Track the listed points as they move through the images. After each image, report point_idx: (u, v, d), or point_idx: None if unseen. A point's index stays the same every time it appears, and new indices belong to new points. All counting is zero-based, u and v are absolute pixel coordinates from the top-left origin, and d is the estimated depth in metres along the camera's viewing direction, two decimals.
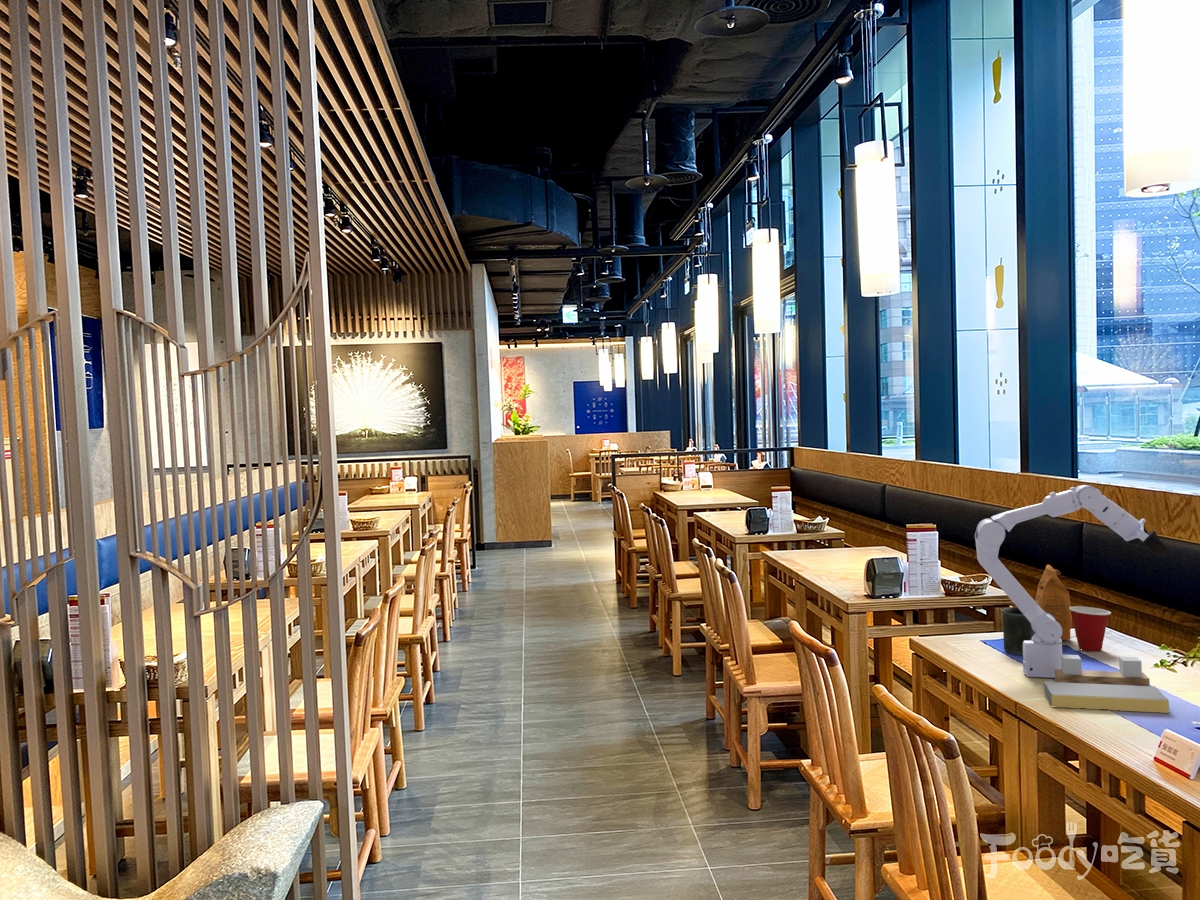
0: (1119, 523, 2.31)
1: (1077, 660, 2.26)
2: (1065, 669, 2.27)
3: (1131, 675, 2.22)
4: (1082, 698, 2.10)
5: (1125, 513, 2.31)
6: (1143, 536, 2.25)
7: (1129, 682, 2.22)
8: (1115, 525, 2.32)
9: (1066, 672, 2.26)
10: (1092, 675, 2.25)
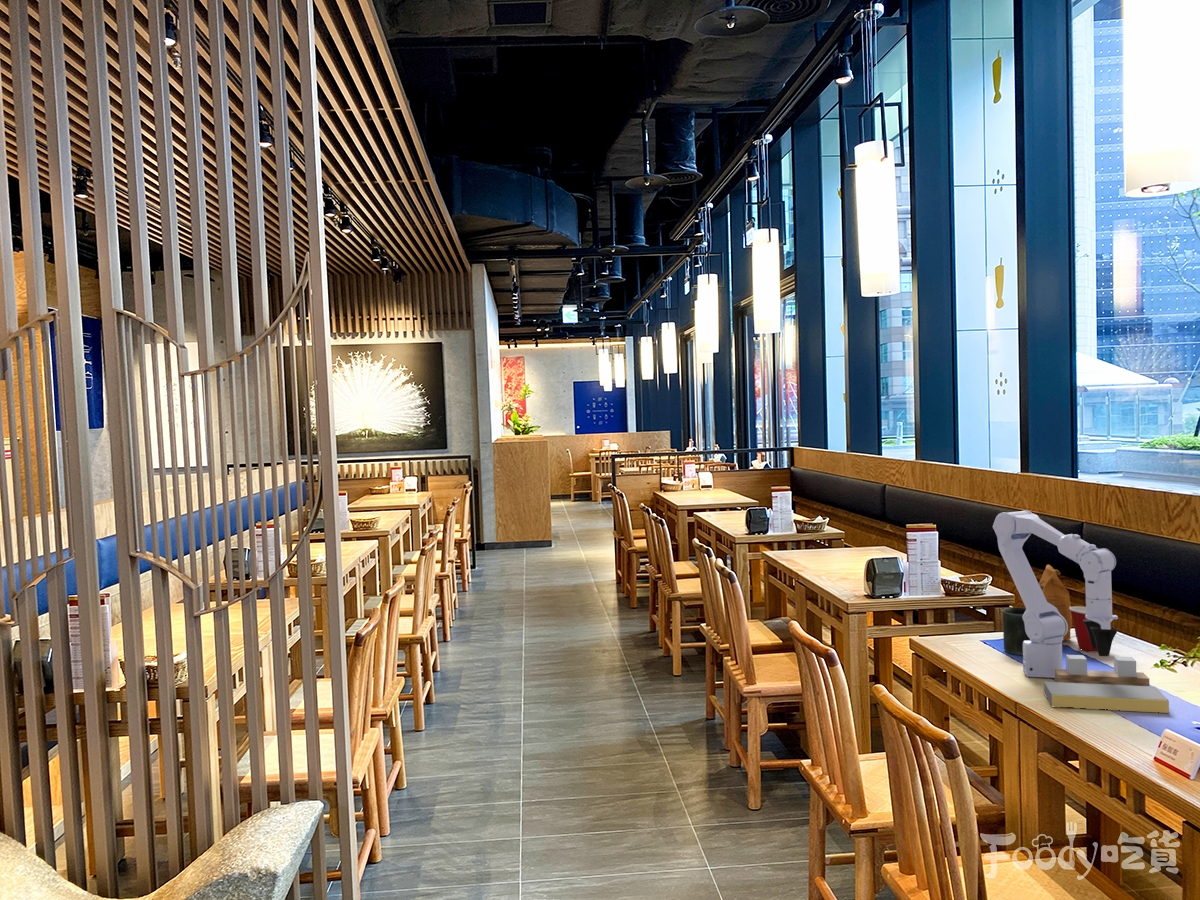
0: (1098, 601, 2.23)
1: (1082, 660, 2.25)
2: (1070, 669, 2.26)
3: (1126, 675, 2.22)
4: (1082, 698, 2.10)
5: (1110, 599, 2.23)
6: (1105, 626, 2.19)
7: (1129, 682, 2.22)
8: (1093, 600, 2.24)
9: (1072, 672, 2.26)
10: (1092, 675, 2.25)
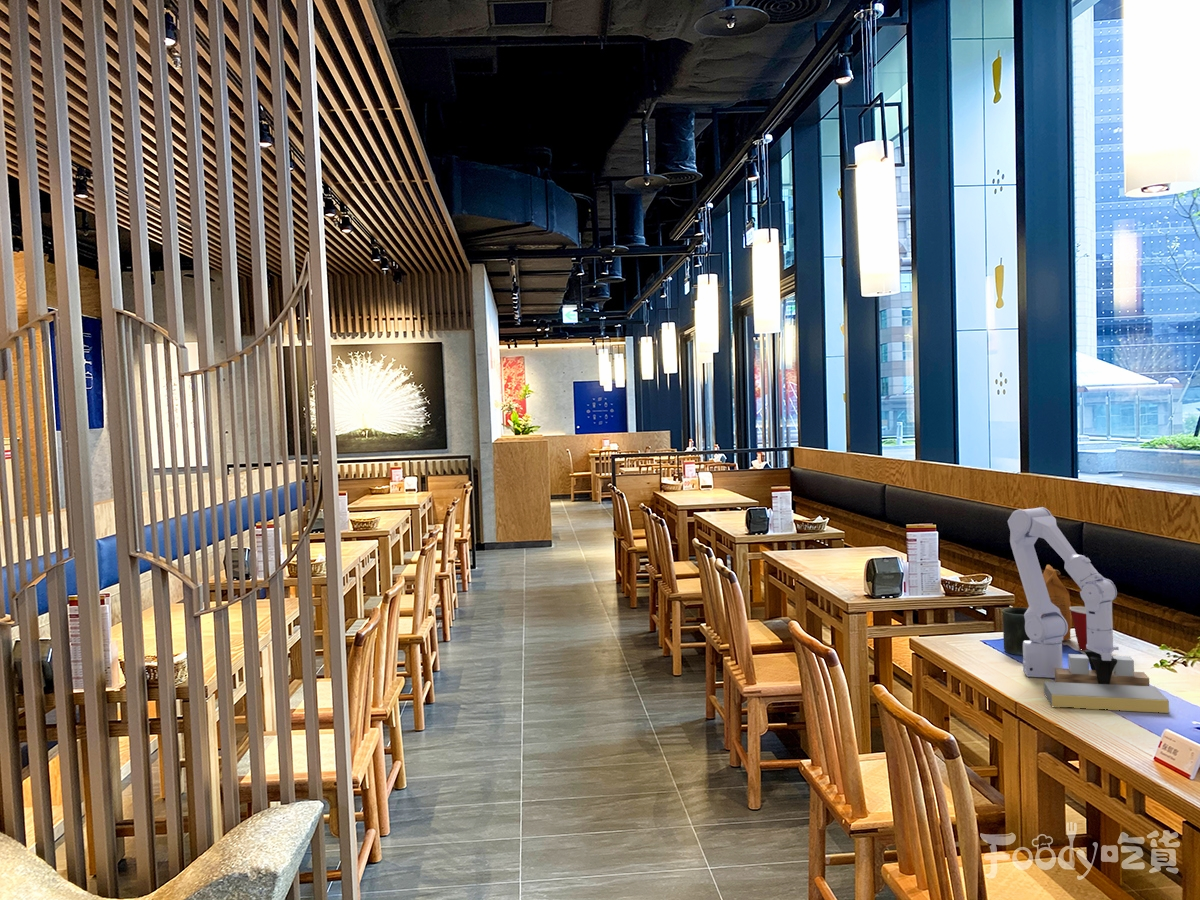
0: (1098, 632, 2.23)
1: (1084, 660, 2.25)
2: (1072, 669, 2.26)
3: (1123, 674, 2.23)
4: (1082, 698, 2.10)
5: (1111, 630, 2.23)
6: (1106, 657, 2.19)
7: (1129, 681, 2.21)
8: (1094, 630, 2.24)
9: (1073, 672, 2.26)
10: (1092, 674, 2.25)
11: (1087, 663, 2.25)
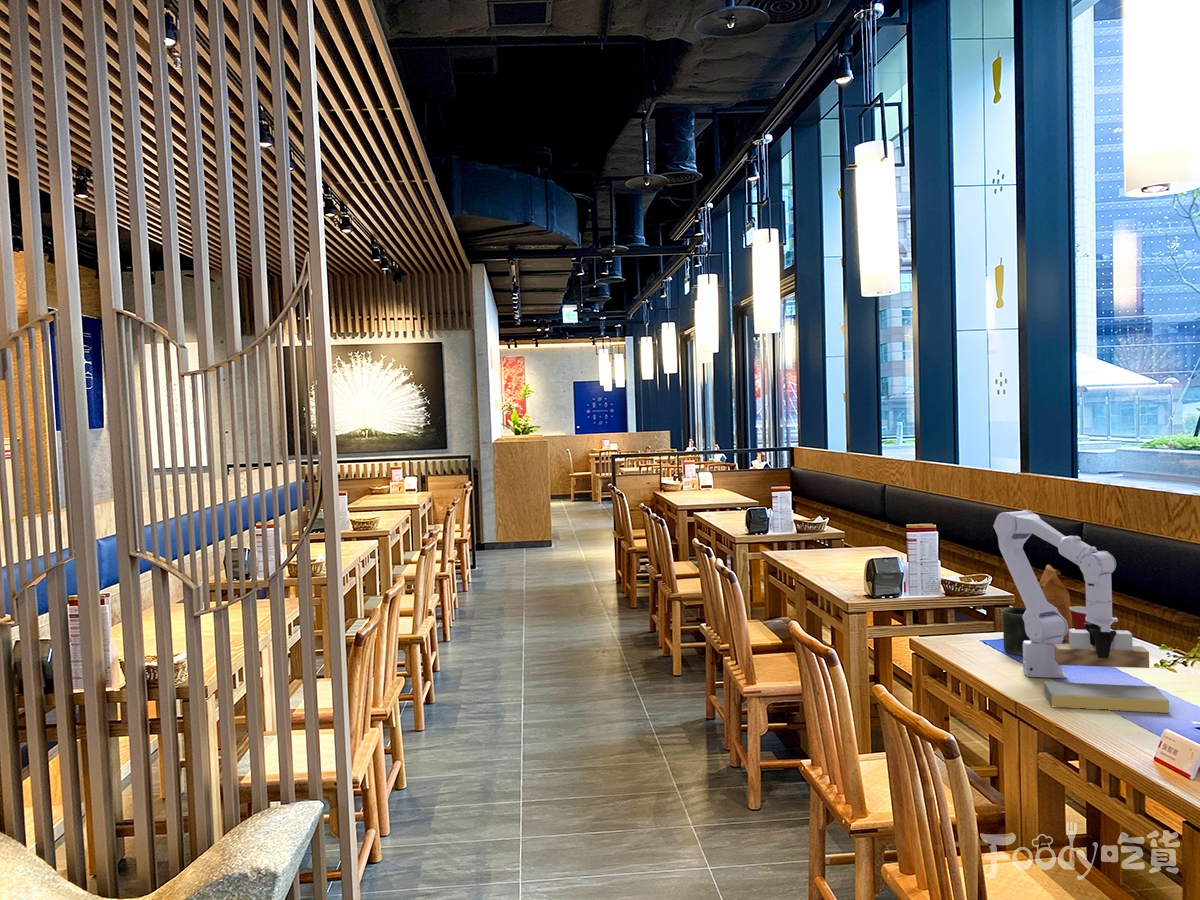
0: (1098, 604, 2.23)
1: (1085, 634, 2.25)
2: (1073, 644, 2.26)
3: (1122, 648, 2.23)
4: (1082, 698, 2.10)
5: (1110, 602, 2.23)
6: (1105, 628, 2.19)
7: (1128, 655, 2.21)
8: (1093, 602, 2.24)
9: (1075, 647, 2.26)
10: (1091, 649, 2.25)
11: (1088, 638, 2.25)
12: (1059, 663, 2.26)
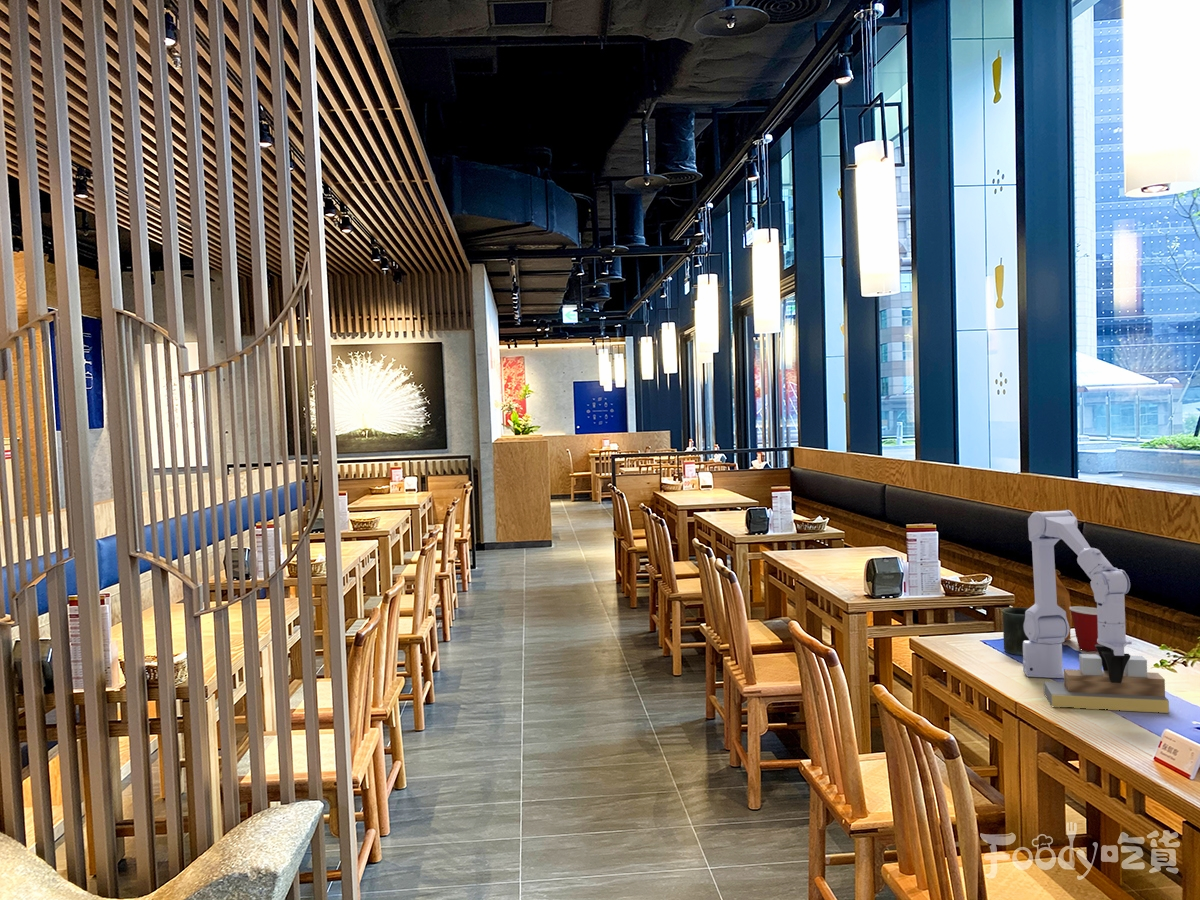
0: (1110, 625, 2.11)
1: (1097, 660, 2.13)
2: (1084, 669, 2.14)
3: (1136, 675, 2.10)
4: (1082, 698, 2.10)
5: (1123, 623, 2.11)
6: (1119, 652, 2.06)
7: (1143, 683, 2.09)
8: (1105, 624, 2.12)
9: (1085, 673, 2.13)
10: (1104, 675, 2.12)
11: (1100, 663, 2.13)
12: (1069, 690, 2.14)
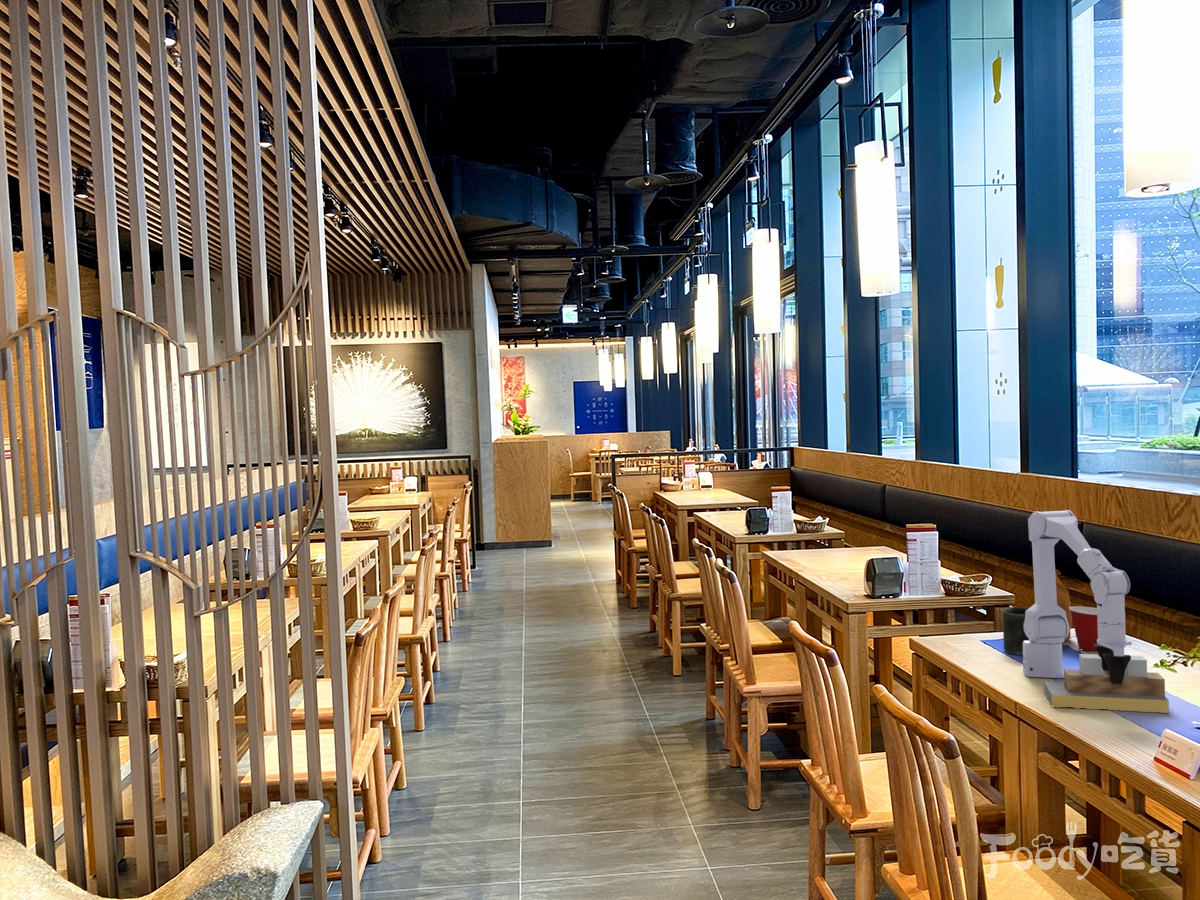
0: (1110, 626, 2.11)
1: (1097, 660, 2.13)
2: (1084, 669, 2.14)
3: (1136, 675, 2.10)
4: (1082, 698, 2.10)
5: (1123, 624, 2.11)
6: (1119, 652, 2.06)
7: (1143, 683, 2.09)
8: (1105, 624, 2.12)
9: (1085, 673, 2.13)
10: (1104, 675, 2.12)
11: (1100, 663, 2.13)
12: (1069, 690, 2.14)
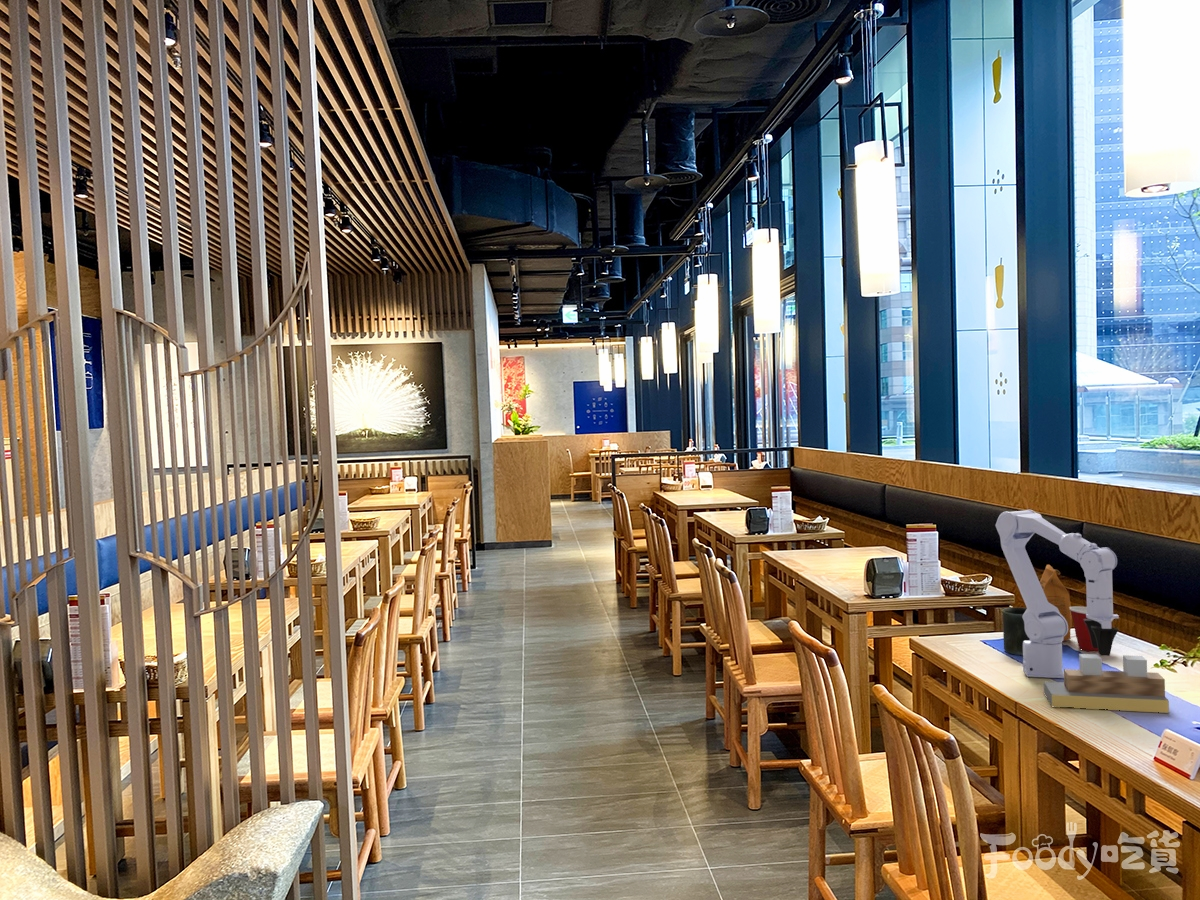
0: (1098, 601, 2.22)
1: (1097, 660, 2.13)
2: (1084, 669, 2.14)
3: (1136, 675, 2.10)
4: (1082, 698, 2.10)
5: (1111, 599, 2.22)
6: (1106, 625, 2.18)
7: (1143, 683, 2.09)
8: (1094, 599, 2.23)
9: (1085, 673, 2.13)
10: (1104, 675, 2.12)
11: (1100, 663, 2.13)
12: (1069, 690, 2.14)
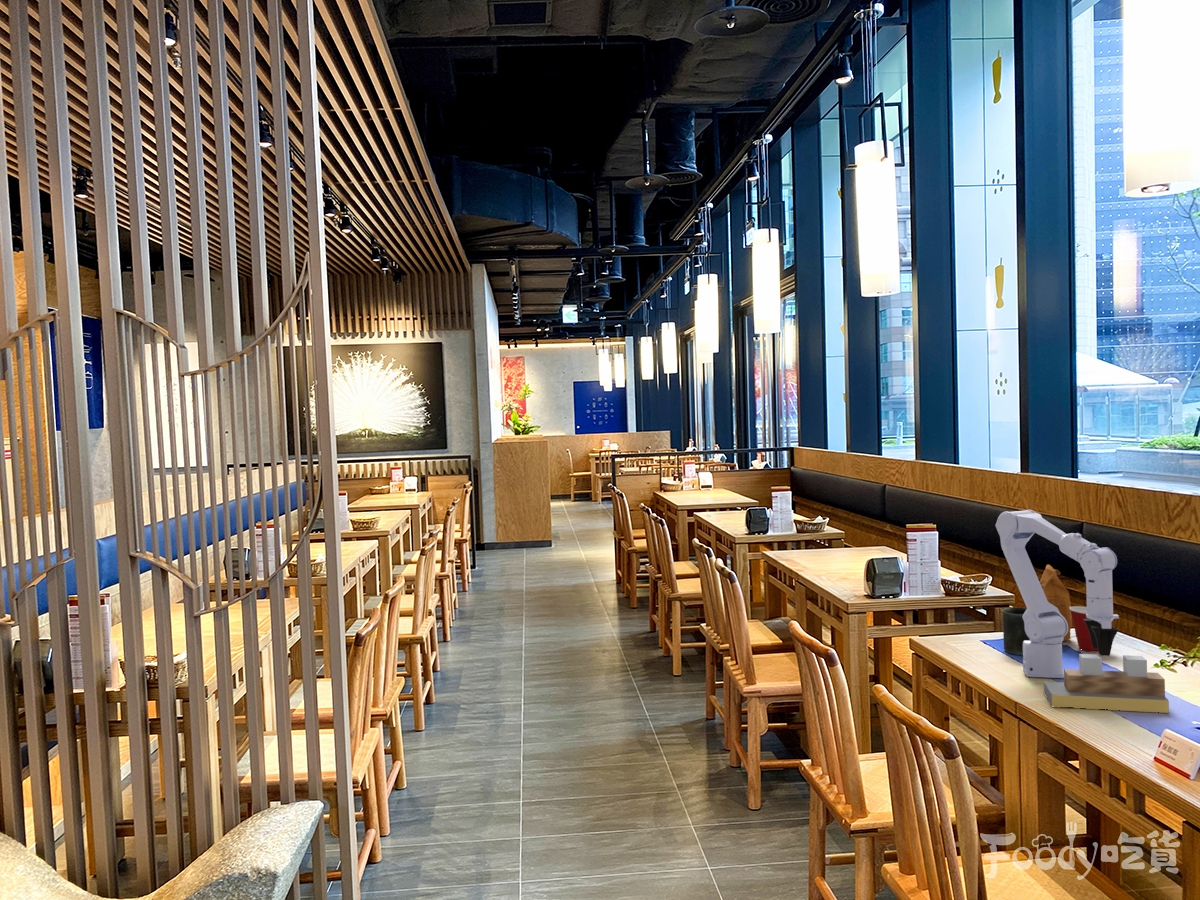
0: (1098, 601, 2.22)
1: (1097, 660, 2.13)
2: (1084, 669, 2.14)
3: (1136, 675, 2.10)
4: (1082, 698, 2.10)
5: (1111, 599, 2.22)
6: (1106, 625, 2.18)
7: (1143, 683, 2.09)
8: (1094, 599, 2.23)
9: (1085, 673, 2.13)
10: (1104, 675, 2.12)
11: (1100, 663, 2.13)
12: (1069, 690, 2.14)
